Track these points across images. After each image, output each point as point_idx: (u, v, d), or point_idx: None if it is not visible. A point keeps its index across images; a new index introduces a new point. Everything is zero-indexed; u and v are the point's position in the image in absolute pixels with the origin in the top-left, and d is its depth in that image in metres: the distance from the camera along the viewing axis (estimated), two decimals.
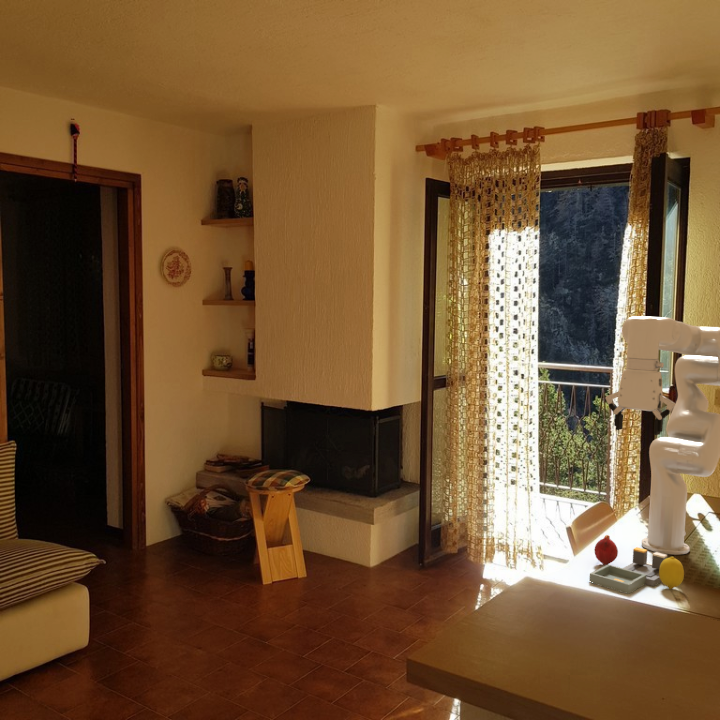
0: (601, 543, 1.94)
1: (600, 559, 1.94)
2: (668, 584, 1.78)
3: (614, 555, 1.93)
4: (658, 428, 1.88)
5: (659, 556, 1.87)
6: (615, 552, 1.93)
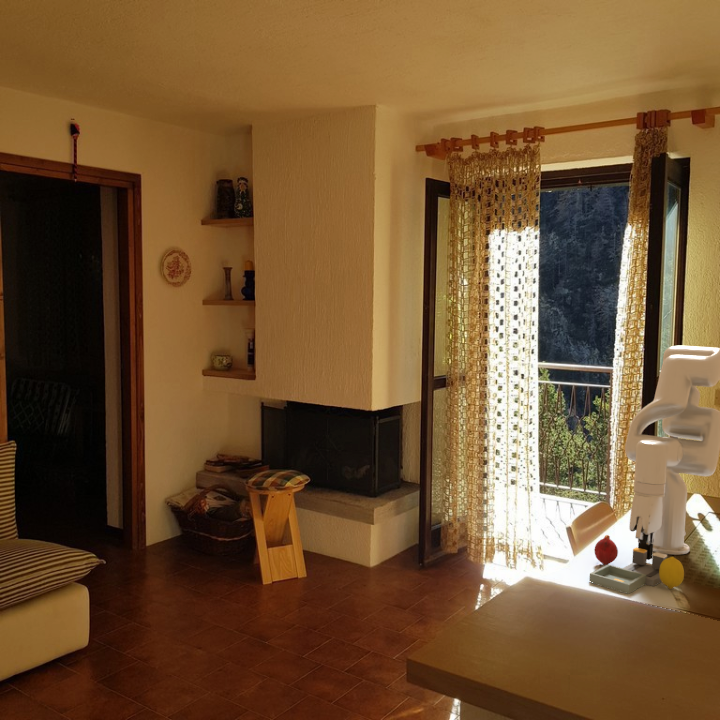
0: (601, 543, 1.94)
1: (600, 559, 1.94)
2: (668, 584, 1.78)
3: (614, 555, 1.93)
4: None
5: (659, 556, 1.87)
6: (615, 552, 1.93)
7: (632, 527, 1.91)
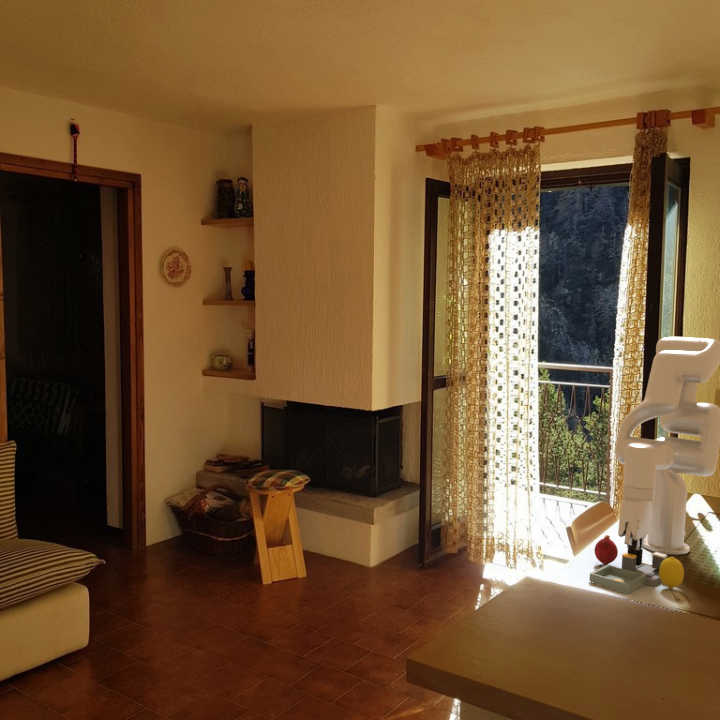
0: (601, 543, 1.94)
1: (600, 559, 1.94)
2: (668, 584, 1.78)
3: (614, 555, 1.93)
4: None
5: (659, 556, 1.87)
6: (615, 552, 1.93)
7: (621, 533, 1.86)
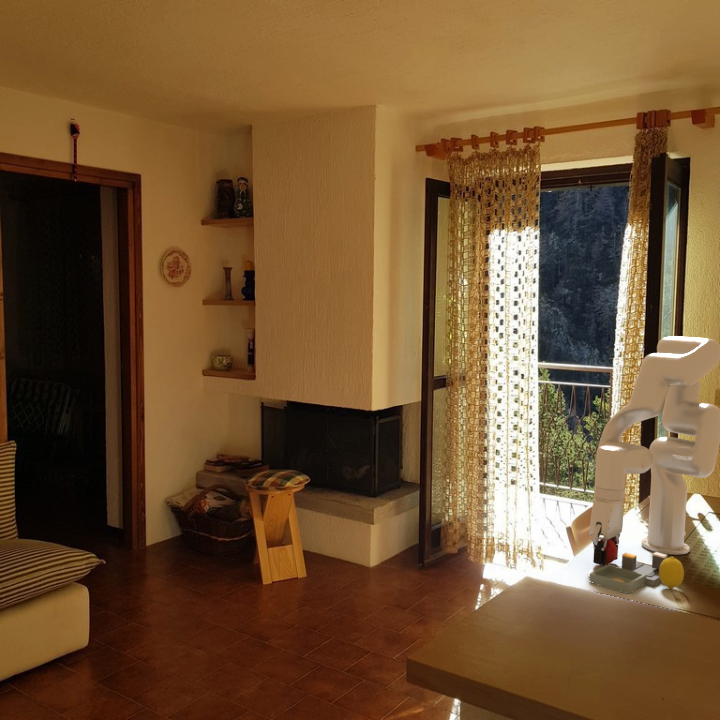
0: None
1: None
2: (668, 584, 1.78)
3: (614, 555, 1.93)
4: None
5: (659, 556, 1.87)
6: (615, 552, 1.93)
7: (592, 532, 1.92)
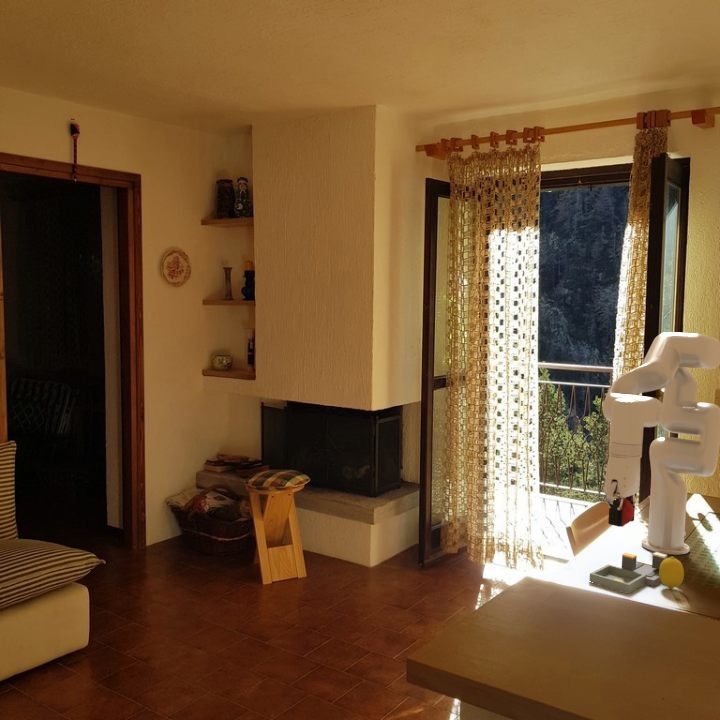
0: None
1: None
2: (668, 584, 1.78)
3: (631, 515, 1.79)
4: None
5: (659, 556, 1.87)
6: (632, 512, 1.79)
7: (607, 491, 1.79)
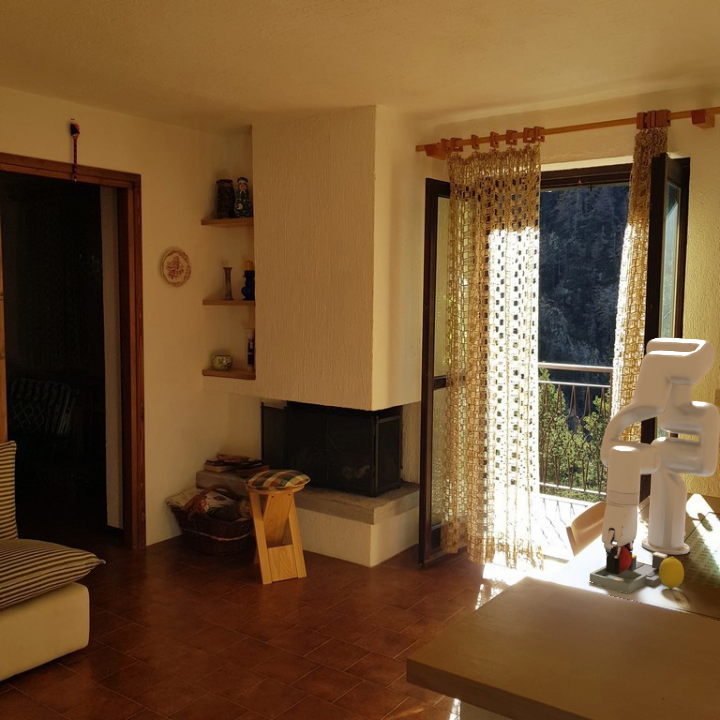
0: None
1: None
2: (668, 584, 1.78)
3: (628, 563, 1.80)
4: None
5: (659, 556, 1.87)
6: (629, 560, 1.80)
7: (604, 539, 1.80)
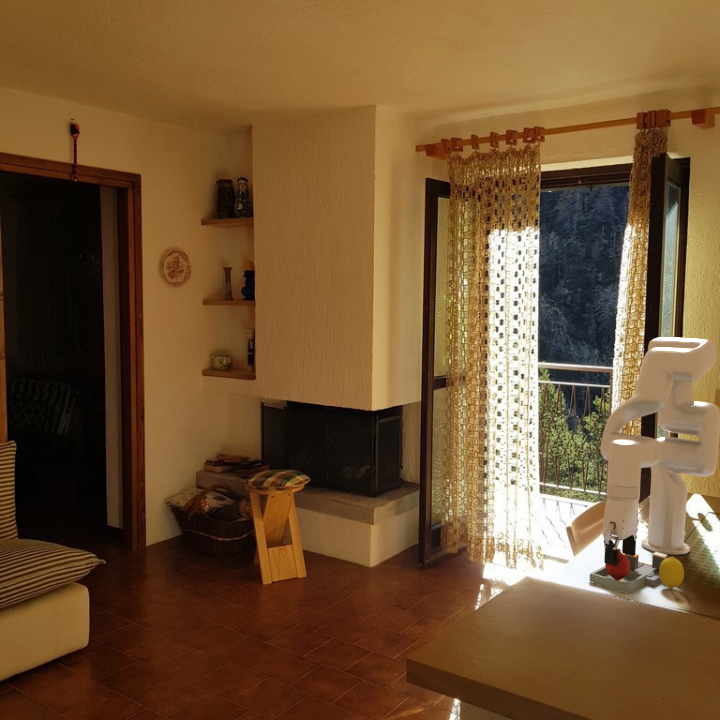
0: None
1: (611, 575, 1.81)
2: (668, 584, 1.78)
3: (626, 570, 1.80)
4: None
5: (659, 556, 1.87)
6: (627, 567, 1.80)
7: None
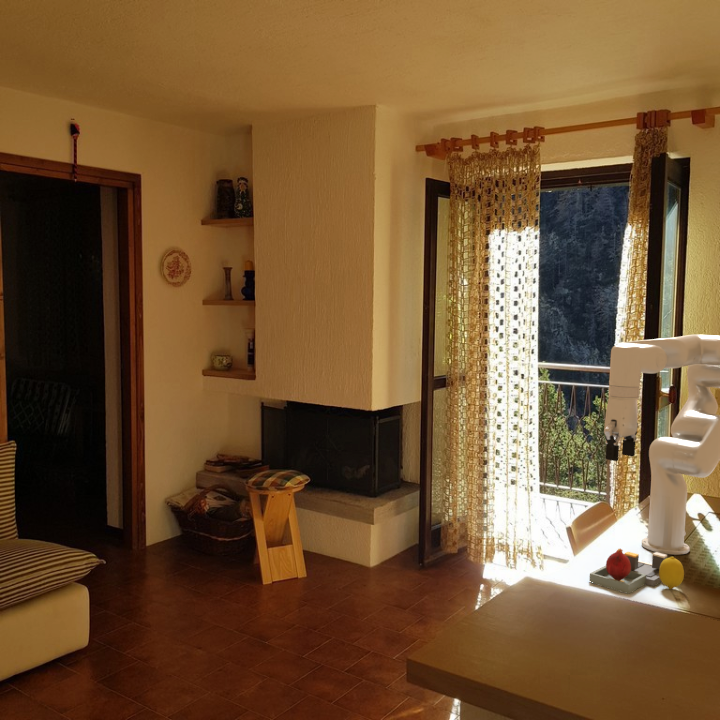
0: (612, 558, 1.81)
1: (611, 574, 1.81)
2: (668, 584, 1.78)
3: (627, 570, 1.80)
4: None
5: (659, 556, 1.87)
6: (628, 567, 1.80)
7: None
